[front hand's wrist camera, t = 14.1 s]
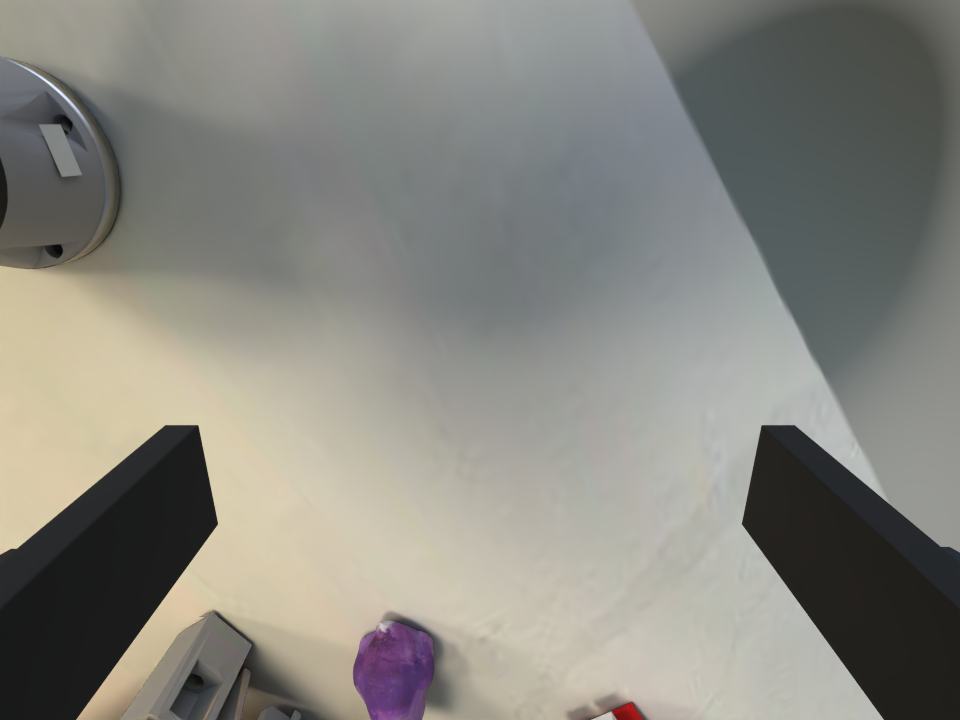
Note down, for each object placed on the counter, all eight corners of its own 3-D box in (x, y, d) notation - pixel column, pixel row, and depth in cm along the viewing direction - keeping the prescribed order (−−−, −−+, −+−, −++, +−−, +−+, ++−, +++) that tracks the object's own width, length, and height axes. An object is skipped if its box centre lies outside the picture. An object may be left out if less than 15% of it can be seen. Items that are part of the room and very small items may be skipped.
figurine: (422, 697, 62) (405, 855, 47) (342, 661, 60) (300, 815, 46) (465, 644, 59) (461, 795, 45) (383, 605, 57) (351, 750, 43)
